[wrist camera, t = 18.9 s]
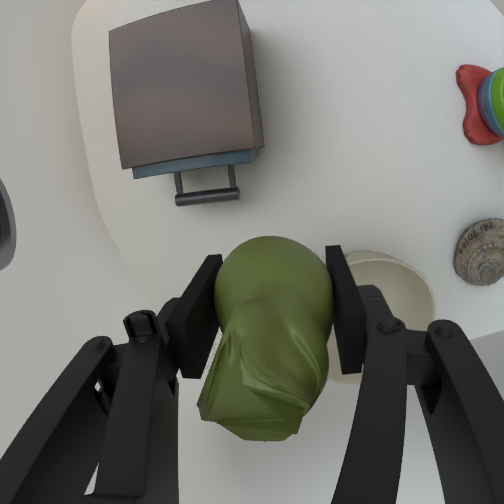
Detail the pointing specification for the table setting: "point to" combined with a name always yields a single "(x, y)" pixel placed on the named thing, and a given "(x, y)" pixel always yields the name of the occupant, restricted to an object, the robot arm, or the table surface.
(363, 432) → the robot arm
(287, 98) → the table surface
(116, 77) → the cabinet
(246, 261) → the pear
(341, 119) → the table surface
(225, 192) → the drawer
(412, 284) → the bowl
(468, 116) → the stacking bear
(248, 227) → the table surface
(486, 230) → the fossilized seashell
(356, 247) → the table surface
